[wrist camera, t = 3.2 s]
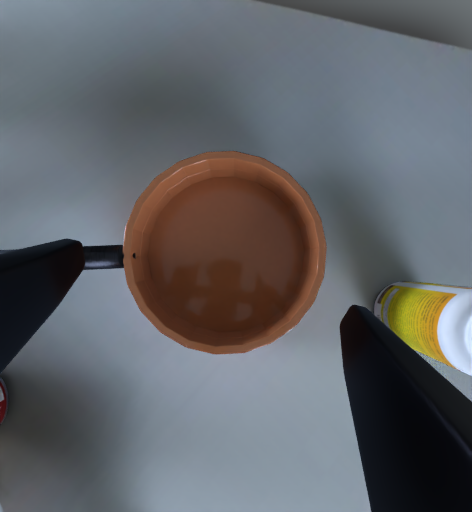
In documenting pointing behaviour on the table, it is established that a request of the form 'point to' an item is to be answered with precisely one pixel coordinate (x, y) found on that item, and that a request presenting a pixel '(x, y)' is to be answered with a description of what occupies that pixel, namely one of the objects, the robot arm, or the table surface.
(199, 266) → the pan
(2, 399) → the soda can
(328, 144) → the table surface
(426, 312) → the supplement bottle
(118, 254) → the pan handle
